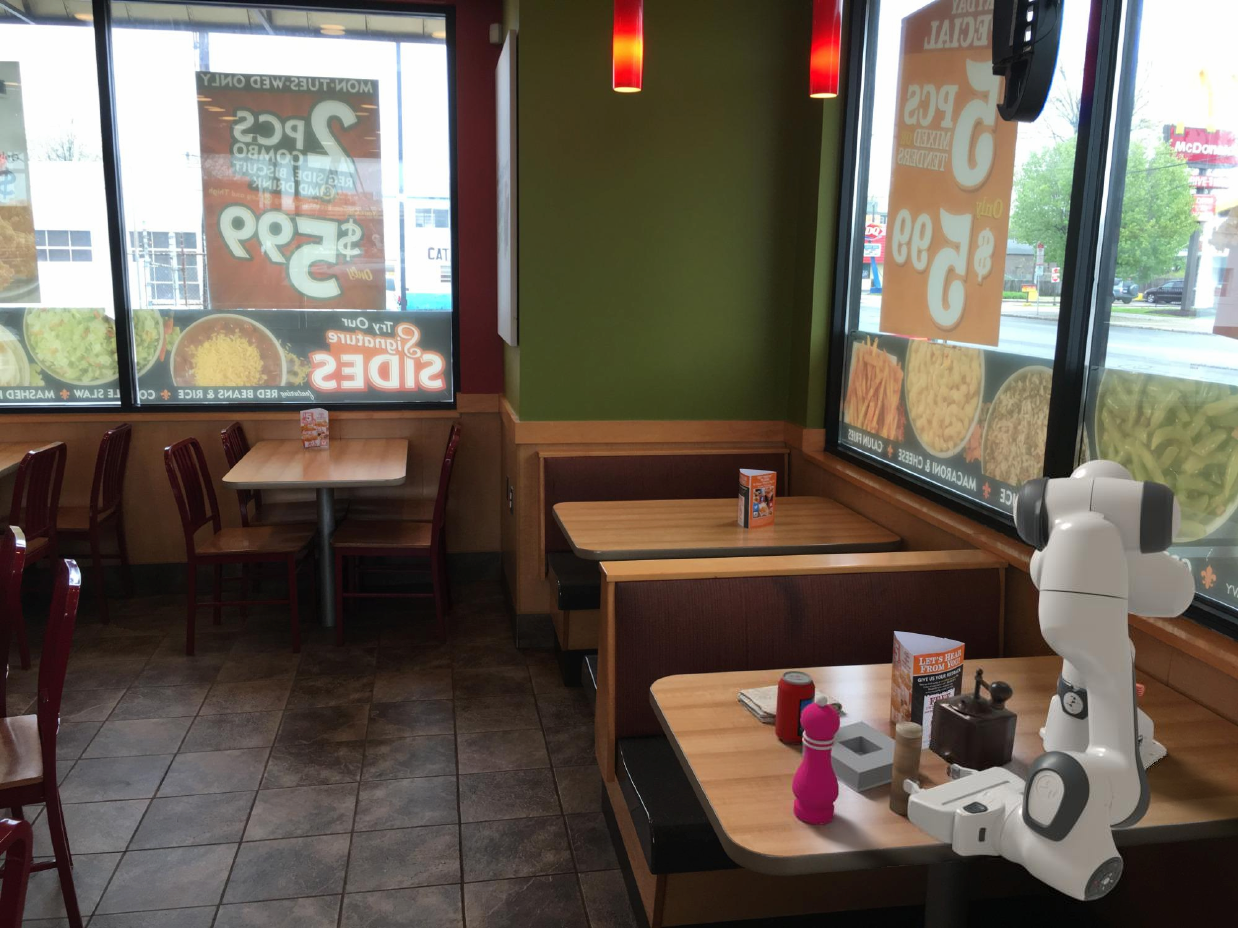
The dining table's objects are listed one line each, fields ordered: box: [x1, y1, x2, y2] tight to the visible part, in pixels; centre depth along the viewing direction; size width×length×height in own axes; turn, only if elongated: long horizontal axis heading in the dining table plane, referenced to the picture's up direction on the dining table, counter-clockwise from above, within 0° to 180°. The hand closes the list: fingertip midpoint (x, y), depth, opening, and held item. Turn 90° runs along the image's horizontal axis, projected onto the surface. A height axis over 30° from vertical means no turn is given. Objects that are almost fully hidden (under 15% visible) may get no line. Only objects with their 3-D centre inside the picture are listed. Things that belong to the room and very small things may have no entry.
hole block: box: [801, 721, 895, 793], centre depth 167 cm, size 14×14×4 cm
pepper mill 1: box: [791, 695, 841, 825], centre depth 149 cm, size 7×7×20 cm
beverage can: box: [774, 670, 816, 745], centre depth 175 cm, size 7×7×12 cm
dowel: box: [888, 721, 924, 816], centre depth 152 cm, size 4×4×14 cm
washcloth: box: [737, 684, 843, 724], centre depth 189 cm, size 12×18×3 cm, turn 112°
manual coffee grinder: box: [928, 667, 1018, 772], centre depth 168 cm, size 16×11×18 cm
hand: (928, 775), depth 148 cm, fingers open, 8 cm apart
